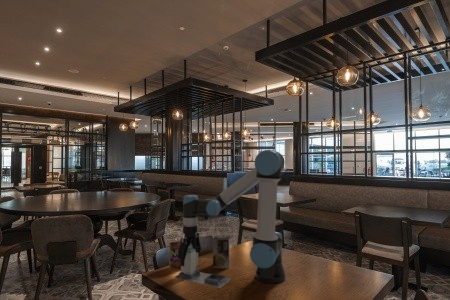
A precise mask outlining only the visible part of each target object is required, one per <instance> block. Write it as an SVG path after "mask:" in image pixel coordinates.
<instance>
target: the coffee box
mask: <svg viewBox="0 0 450 300" xmlns="http://www.w3.org/2000/svg"><path fill="white" fill-rule="evenodd" d="M230 240H231V239H230V236H214V237H213V239H212V268H213V269H228V270H229V269H230V266H231V263H230V260H231V259H230V257H231V256H230V249H231V248H230V247H231V246H230V242H231V241H230Z"/></svg>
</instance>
